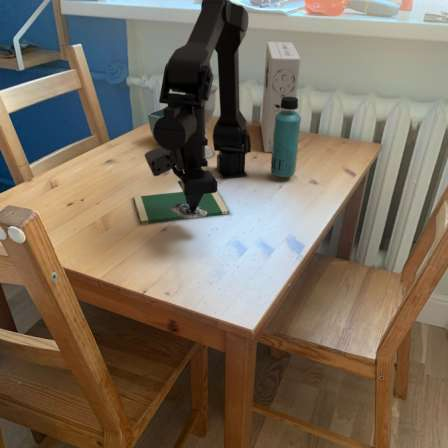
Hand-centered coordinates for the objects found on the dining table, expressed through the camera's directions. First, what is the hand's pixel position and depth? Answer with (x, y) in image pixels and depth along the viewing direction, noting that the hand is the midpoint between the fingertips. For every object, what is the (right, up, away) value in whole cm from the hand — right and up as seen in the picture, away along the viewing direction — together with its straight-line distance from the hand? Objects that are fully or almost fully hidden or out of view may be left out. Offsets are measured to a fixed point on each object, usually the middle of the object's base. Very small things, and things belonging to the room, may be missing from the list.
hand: (191, 207), depth 99 cm
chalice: (+1, +22, +38) cm, 44 cm away
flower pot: (-9, +27, +44) cm, 52 cm away
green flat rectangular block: (-3, +2, +13) cm, 13 cm away
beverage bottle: (+22, +13, +27) cm, 37 cm away
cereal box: (+22, +30, +49) cm, 62 cm away
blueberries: (0, -1, +1) cm, 1 cm away
